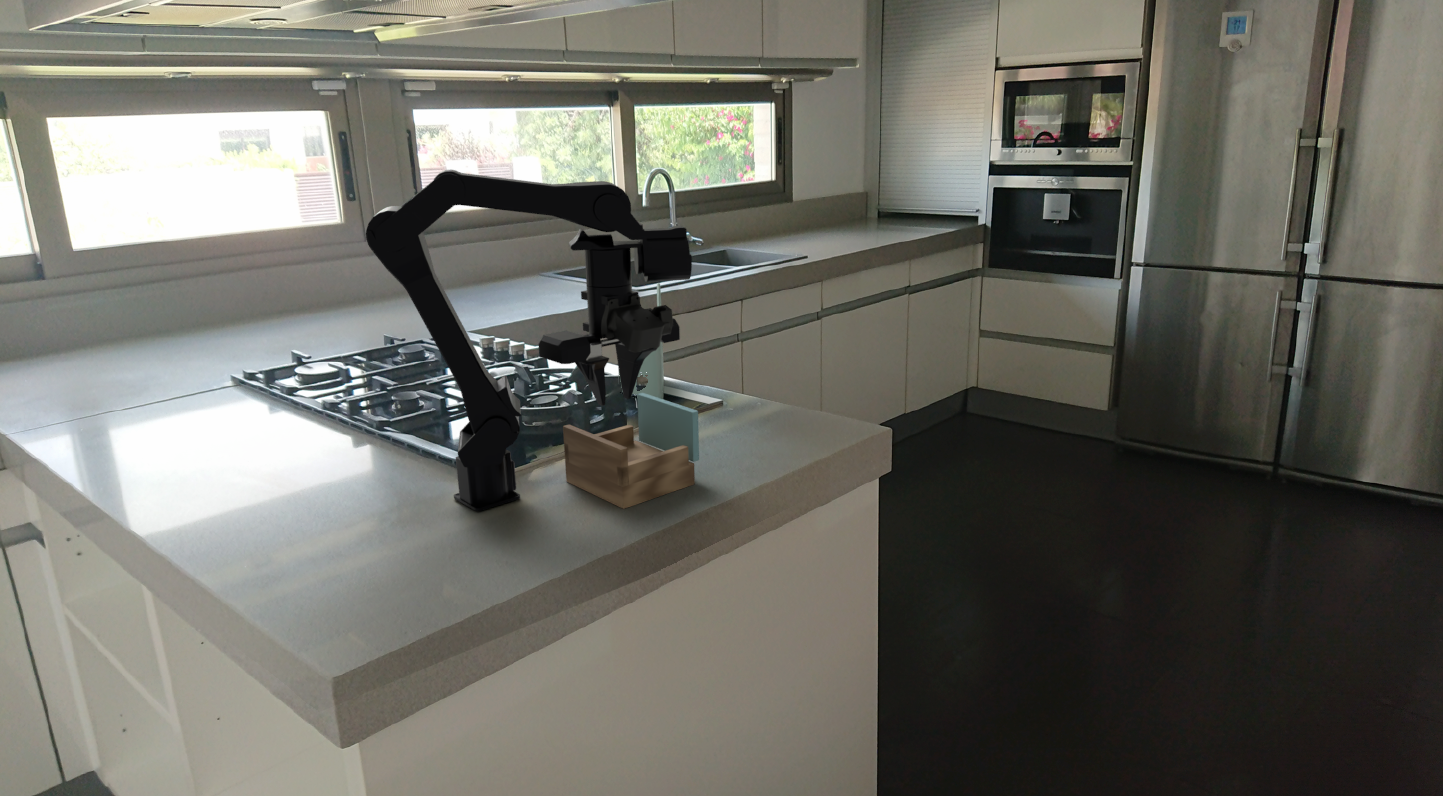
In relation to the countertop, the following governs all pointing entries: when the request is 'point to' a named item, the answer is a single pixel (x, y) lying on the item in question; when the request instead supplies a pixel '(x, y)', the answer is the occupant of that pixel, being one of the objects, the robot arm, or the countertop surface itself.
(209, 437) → the countertop surface
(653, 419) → the panel
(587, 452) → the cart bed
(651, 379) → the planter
